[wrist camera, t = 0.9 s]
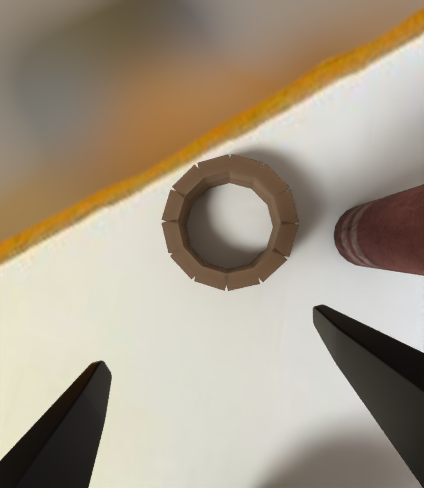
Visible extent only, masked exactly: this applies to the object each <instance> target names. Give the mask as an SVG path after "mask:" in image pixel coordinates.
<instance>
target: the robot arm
mask: <svg viewBox="0 0 424 488" xmlns="http://www.w3.org/2000/svg"><path fill="white" fill-rule="evenodd" d="M313 323H314V326H315V328H316V329H317V331H318V333H319V335H320V336H321V338H322V340H323V342H324V344H325V345H326V347H327V349H328V351H329V352H330V354H331V356H332V358H333V359H334V361H335V363H336V364H337V366H338V367H339V369H340V370H341V371H342V373H343V374H344V376H345V377H346V379H347V380H348V381H349V383H350V384H351V386H352V387H353V389H354V390H355V391H356V393H357V394H358V396H359V397H360V399H361V400H362V401H363V403H364V404H365V406H366V407H367V409H368V410H369V411H370V413H371V414H372V416H373V417H374V419H375V420H376V421H377V423H378V424H379V426H380V427H381V429H382V430H383V431H384V433H385V434H386V436H387V437H388V439H389V440H390V441H391V443H392V444H393V446H394V447H395V449H396V450H397V451H398V453H399V454H400V456H401V457H402V459H403V460H404V461H405V463H406V464H407V466H408V467H409V469H410V470H411V471H412V473H413V474H414V476H415V477H416V479H417V480H418V481H419V483H420V484H421V486H422V487H423V488H424V353H423V352H421V351H419V350H417V349H415V348H412V347H410V346H408V345H406V344H404V343H402V342H400V341H398V340H396V339H394V338H392V337H390V336H388V335H386V334H384V333H381V332H379V331H377V330H375V329H373V328H371V327H369V326H367V325H365V324H363V323H361V322H359V321H357V320H355V319H352V318H350V317H348V316H346V315H344V314H342V313H340V312H338V311H336V310H334V309H332V308H330V307H328V306H326V305H318V306H314V307H313ZM111 379H112V375H111V372H110V370H109V369H108V367H107V366H106V364H105V362H104V361H97V362H93V363H91V364H90V365H89V366H88V367H87V368H86V369H85V371H84V372H83V373H82V374H81V375H80V376H79V377H78V378H77V379H76V380H75V381H74V382H73V383H72V385H71V386H70V387H69V388H68V389H67V390H66V391H65V392H64V393H63V394H62V395H61V396H60V397H59V398H58V400H57V401H56V402H55V403H54V404H53V405H52V406H51V407H50V408H49V409H48V410H47V411H46V412H45V413H44V415H43V416H42V417H41V418H40V419H39V420H38V421H37V422H36V423H35V424H34V425H33V426H32V427H31V428H30V430H29V431H28V432H27V433H26V434H25V435H24V436H23V437H22V438H21V439H20V440H19V441H18V442H17V443H16V444H15V446H14V447H13V448H12V449H11V450H10V451H9V452H8V453H7V454H6V455H5V456H4V457H3V458H2V459H1V461H0V488H88V487H89V483H90V479H91V475H92V471H93V467H94V463H95V459H96V455H97V451H98V447H99V443H100V439H101V435H102V431H103V427H104V422H105V417H106V411H107V405H108V399H109V392H110V386H111Z"/></svg>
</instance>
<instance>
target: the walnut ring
mask: <svg viewBox="0 0 424 488" xmlns="http://www.w3.org/2000/svg"><path fill="white" fill-rule="evenodd" d="M262 163H263V162H260V161H256V160H252V159H248V158H244V157H240V156H236V155H231V158H230V160H229V156H228V155H224V156H220V157H217V158H213V159H210V160H206V161H202V162H199V163H198V167H199V169H198V168H197V167H196V166H195V165H194V166H193V167H192V168H191V169H190V170H189V171H188V172H187V173H186V174H185V175H183V176H182V177H181V178H180V179H179V180H178V181H177V182H176V183H175V184H174V185H173V186H172V187H173V188H174V189H175V190H176V191H174V190H170V193H169V196H168V200H167V203H166V206H165V210H164V213H163V217H162V220H164V221H167V222H163V223H162V227H163V231H164V236H165V240H166V244H167V249H168V253H173V254H172V255H171V256H170V257H171V258H172V259H173V260H174V261H175V262H176V263H177V264H178V265H179V266H180V267H181V269H182V270H183V271H184V272H185V273H186V274H187V275H188V276H189V277H190V278H191V279H192V278H193V277H195V276H196V277H195V280H194V281H196V282H199V283H202V284H205V285H208V286H211V287H215V288H218V289H221V290H224V291H225V288H226V284H227V288H228V291H230V290H234V289H239V288H243V287H248V286H252V285H257V284H260V282H259V279H260V280H261V281H262V282H264V281H265V280H266V279H267V278H268V277H269V276H270V275H271V274H272V273H274V272H275V271H276V270H277V269H278V268H279V267H280V266H281V265H282V264H283V263H284V262H285V261H287V259H286V258H285V257H284V256H287V257H289V256H290V252H291V249H292V246H293V242H294V239H295V236H296V232H297V229H298V226H299V225H296V224H294V223H297V222H299V221H298V217H297V213H296V209H295V205H294V201H293V197H292V193H291V190H288V191H285V190H286V189H287V188H288V187H289V186H288V185H287V184H286V183H285V182H284V181H283V180H282V179H281V178H280V177H279V176H278V175H277V174H276V173H275V172H273V171H272V170H271V169H270V168H269V167H268V166H267V165H266V164H265V165H264V166H263V167H262ZM261 167H262V168H261ZM227 183H232V184H236V185H240V186H244V187H247V188H251V189H252V190H253V191H254V192H255V193H256V194H257V195H258V196H259V197H260V198H261V199H262V200H263V201H264V202H265V203H266V204H267V205H268V209H269V213H270V217H271V221H272V225H273V229H272V232H271V235H270V239H269V242H268V245H267V249H266V250H265V251H264V252H263V253H262V254H260V255H259V256H258V257H257V258H256V259H255V260H254V261H253V262H252V263H251V264H250V265H246V266H241V267H237V268H233V269H228V270H227V269H224V268H220V267H217V266H214V265H211V264H207V263H205V262H204V260H203V259H202V258H201V257H200V256H199V255H198V254H197V253H196V252H195V251H194V250H193V249H192V248H191V246H190V241H189V237H188V233H187V229H186V223H187V219H188V216H189V213H190V209H191V206H192V204H193V203H194V202H195V201H196V200H197V199H198V198H199V197H200V196H201V195H202V194H203V193H204V192H205V191H206V190H207V189H208V188H212V187H216V186H220V185H223V184H227ZM258 277H259V278H258Z"/></svg>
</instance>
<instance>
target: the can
mask: <svg viewBox="0 0 424 488" xmlns="http://www.w3.org/2000/svg"><path fill="white" fill-rule="evenodd" d="M334 240H335V245H336V247H337V249H338V251H339V253H340V254H341V255H342V256H343V257H344V258H345V259H346V260H347V261H349V262H351V263H353V264H355V265H357V266H363V267H370V268H376V269H383V270H390V271H396V272H403V273H410V274H417V275H423V276H424V185H421V186H418V187H415V188H411V189H408V190H405V191H402V192H399V193H396V194H393V195H390V196H387V197H384V198H381V199H377V200H374V201H371V202H368V203H365V204H362V205H359V206H356V207H354V208H352V209H350V210H348V211H346V212H345V213H344V214H343V215H342V216H341V217H340V219H339V220H338V222H337V224H336V226H335V232H334Z"/></svg>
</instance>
